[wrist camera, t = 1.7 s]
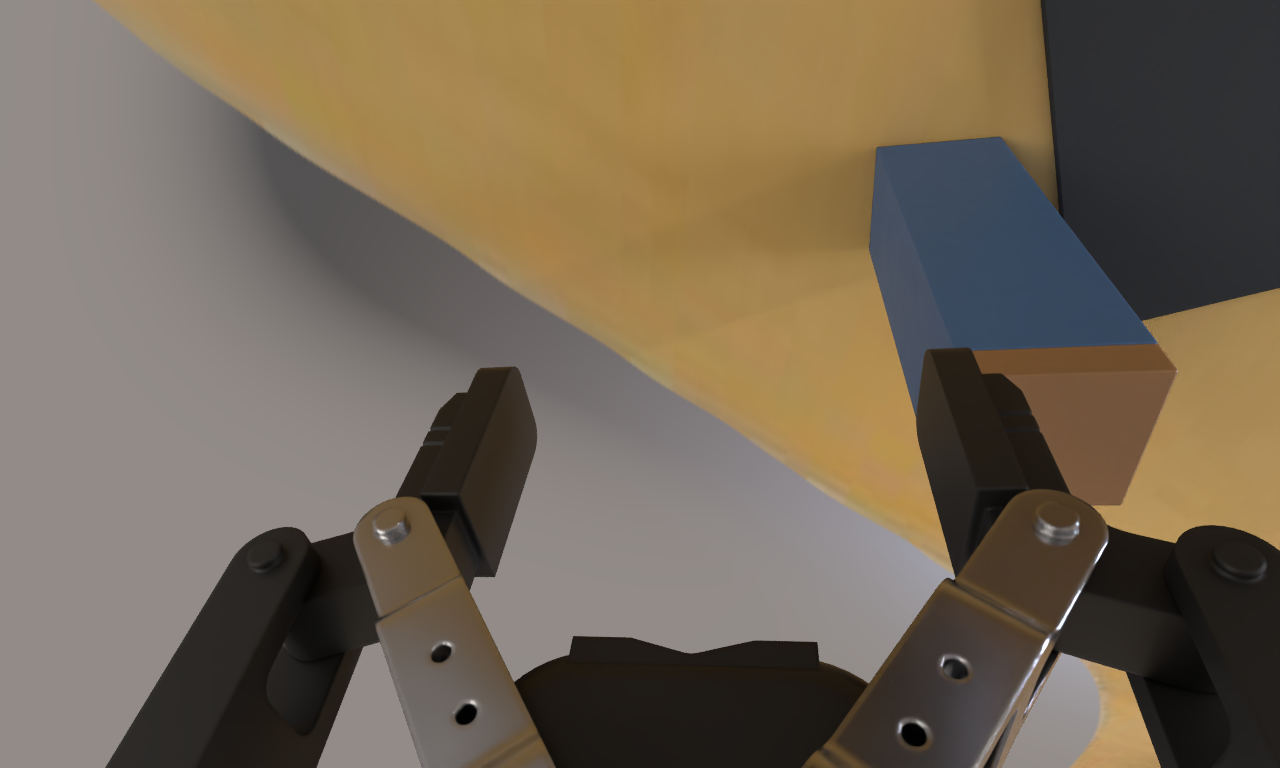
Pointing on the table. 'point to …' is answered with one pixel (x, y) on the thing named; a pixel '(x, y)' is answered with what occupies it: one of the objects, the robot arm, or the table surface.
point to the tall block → (1016, 304)
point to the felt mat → (1169, 144)
